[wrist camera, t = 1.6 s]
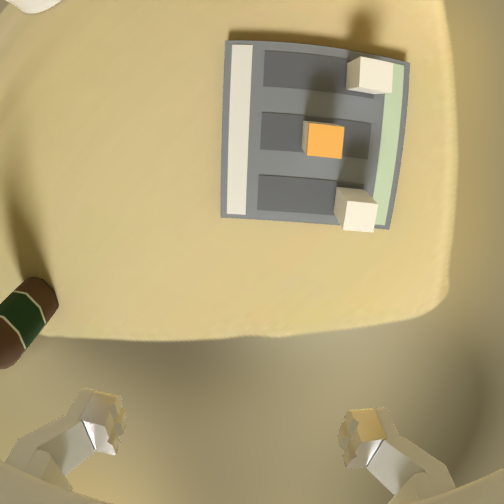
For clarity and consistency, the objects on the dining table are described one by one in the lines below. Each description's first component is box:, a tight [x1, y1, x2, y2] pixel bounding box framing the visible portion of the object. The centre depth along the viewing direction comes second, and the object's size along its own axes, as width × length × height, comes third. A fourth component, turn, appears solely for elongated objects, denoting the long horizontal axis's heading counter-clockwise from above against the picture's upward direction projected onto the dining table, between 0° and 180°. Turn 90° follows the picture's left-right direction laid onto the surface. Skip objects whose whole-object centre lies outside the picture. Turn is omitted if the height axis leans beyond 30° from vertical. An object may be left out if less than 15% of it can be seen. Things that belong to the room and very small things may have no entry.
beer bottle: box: [0, 277, 59, 369], centre depth 33 cm, size 8×8×24 cm
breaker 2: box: [334, 187, 378, 232], centre depth 30 cm, size 3×3×5 cm
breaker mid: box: [302, 121, 344, 159], centre depth 27 cm, size 3×3×5 cm
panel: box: [221, 40, 410, 230], centre depth 31 cm, size 19×19×2 cm
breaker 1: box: [346, 56, 393, 94], centre depth 24 cm, size 3×3×5 cm
